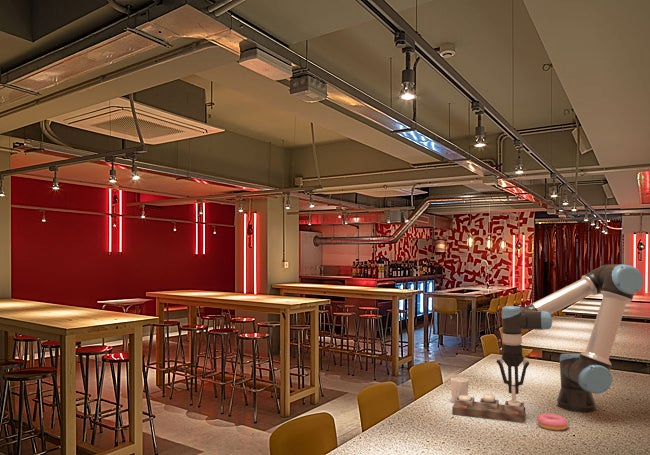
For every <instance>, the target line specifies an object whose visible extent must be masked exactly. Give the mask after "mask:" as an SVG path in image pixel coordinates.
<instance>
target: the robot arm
mask: <svg viewBox="0 0 650 455" xmlns="http://www.w3.org/2000/svg"><path fill="white" fill-rule="evenodd" d="M643 286H644V277H643V274H642V273H641V271H640V270H639V269H638V268H636V267H635V266H632V265H629V264H624V263H622V264H604V265H602V266H599V267H598V268H594V269H593V270H591V271H589V272H587V273H585V274H583V275H582V276H581V279H579V280H577V281H575V282H573V283H571V284H569V285H567V286H564V287H562V288H561V289H559V290H556V291H554V292H553V293H550V294H549V295H547V296H545V297H543V298H540V299H539V300H536V301H534V302H532V303H531V304H528V305H526V306H521V307H520V306H514V305H505V306H503V307H502V308H501V309H502V310H501V325H502V328H501V329H502V355H501V357H500V358H497V359H496V364H497V365H498V367H499V369H500V374H501V376H502V381H503V384H504V385H507V386H508V393H509V394H511V400H512V402H515V403H516V401H517V395H519V392H520V391H519V387H520V386H523V385H524V381H525V377H526V372H527V368H528V367H529V366H530V361H527V360H526V359H524V358H525V357H524V356H523V346H522V343H523V338H522V336H523V335H522V334H523V331H522V330H536V331H537V330H539V331H541V330H542V331H543V330H550V329H551V328H552V325H553V319H552V318H553V317H552V314H555V313H556V312H558V311H560V310H562V309H564V308H566V307H568V306H571V305H572V304H574V303H577V302H579V301H580V300H583V299H585V298H587V297H589V296H591V295H592V296H596V295H598V294H601V295H602V300H601V302H600V305H599V308H598V312H597V315H596V318H595V321H594V324H593V327H592V330H591V333H590V337H589V340H588V343H587V346H586V349H585V350H584V351H583V352H580V353H561V354H560V356H559V371H560V372H559V374H560V389H559V393H558V396H557V399H556V405H557V407H558V408H560V409H563V410H565V411H569V412H574V413H575V412H578V413H593V412H595V411H596V410H597V403H596V401H595V398H594V395H593V394H596V395H597V394H598V395H600V394H602V393H605V392H606V391H608V390H609V389H610V388H611V386H612V384H613V376H612V374H611V367H612V363H611V361H610V357H611V353H612V350H613V346H614V343H615V341H616V337H617V334H618V331H619V328H620V325H621V322H622V318H623V316H624V312H625V309H626V305H627V304H628V303H630V302H633V299H634V295H635V294H637V293H638V292H640V291H641V290H642V288H643ZM503 363H505V365H506V366H507V374H506V372H505V368H504V364H503ZM521 364H522V365H523V368H522V372H521V376H520V380H519V367H520V366H521ZM512 368H514V384H513V379H512V378H513V377H512ZM507 376H508V377H507ZM507 378H508V379H507Z"/></svg>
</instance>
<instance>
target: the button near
mask: <svg viewBox="0 0 650 455" xmlns="http://www.w3.org/2000/svg"><path fill="white" fill-rule="evenodd" d="M507 401H508V405H510V406H519V407H521V401H519V400H516V403H515V402H512V399H511V400H510V399H509V400H507Z"/></svg>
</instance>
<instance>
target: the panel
mask: <svg viewBox="0 0 650 455" xmlns="http://www.w3.org/2000/svg"><path fill="white" fill-rule="evenodd" d="M470 397H471V401H463V400H459V396H457V397H456V399H455V403H454V402H453V403H454V404H453V406H452V408H451V409H452V412H451V414H452V415H453V416H454V415H456V416H462V417H469V418H470V417H471V418H479V419H487V420H495V421H504V422H511V423H520V424H525V423H526V412H527V411H526V406H525V402H524V401H523V402H521V401H520V402H521V407H519V406H510V405H508V401H509V400H505V402H504V404H500V401H499V399H495V402H485V401H483V397H482V398H481V397H480V400H479V401H475V397H474V396H473V397H472V396H470Z"/></svg>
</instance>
